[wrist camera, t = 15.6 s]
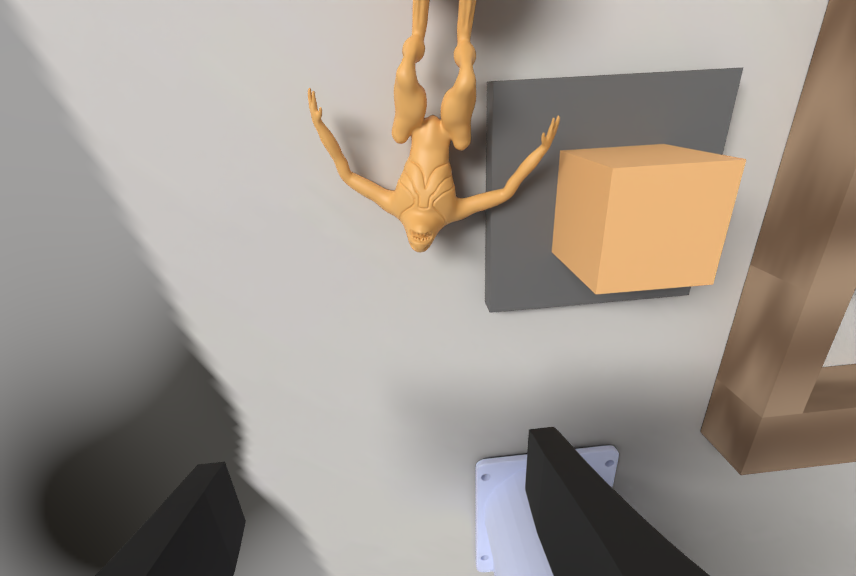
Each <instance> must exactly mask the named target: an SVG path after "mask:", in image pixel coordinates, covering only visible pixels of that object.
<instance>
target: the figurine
mask: <svg viewBox="0 0 856 576" xmlns="http://www.w3.org/2000/svg"><path fill="white" fill-rule="evenodd" d="M429 1H430V0H413V24H412V36H411V37H409V38H408V39H407V40H406V41H405V43H404V45H403V49H402V53H403V59H402V62H401V64H400V65H399V67H398V69H397V73H396V80H395V85H394V101H395V118H394V123H393V127H392V136H393V139H394V140H395V141H396V142H397V143H399V144H402V143H405V142H406V141H407V140H408V138H409V136H411V138H412V145H411V150H410V157H409V158H408V160H407V162H406V164H405V166H404V170H403V172H402V174H401V176H400V178H399V180H398V183H397V186H396V190H393V191H392V190H387V189H385V188H383V187H381V186H379V185H377V184H376V183H374V182H372V181H370V180H368V179H366V178H364V177H362V176H360V175H358V174H355V173H353V172H351V171H350V168H349V165H348V162H347V160H346V158H345V157H344V155H343V153H342V151H341V149H340V146H339V144H338V143H337V141H336V139H335V138H334V136H333V134H332V133H331V132H330V130H329V129H328V128H327V127H326V126H325V124H324V123H323V122H322V120H321V117H322V108H321V107H320V108H319V112H318V109H317V102H316V98H315V92H314V91H313V92H312V93H311V88H309V89H308V101H309V108H310V112H311V117H312V121H313V123H314V126H315V128H316V130H317V132H318V134H319V136H320V139H321V141H322V143H323V145H324V146H325V148H326V149H327V151H328V152H329V154H330V156H331V157H332V159H333V160H334V162H335V165H336V168H337V170H338V173H339V175H340V177H341V178H342V180H343V181H344V182H345V183H346V184H347V185H348V186H350V187H351V188H352V189H354V190H355V191H357V192H358V193H360V194H361V195H363V196H365V197H367V198H369V199H371V200H372V201H374V202H375V203H376V204H378V205H379V206H380V207H381V208H382V209H383V210H385V211H386V212H388V213H390V214H392V215H394V216H395V217H397V218H398V219H399V220H400V221H401V223H402V224H403V225H404V227H405V230H406V233H407V237H408V240H409V243H410V245H411V247H412V249H413V250H415V251H416V252H424V251H426V250H427V249H428V248H429V247H430V245H431V244H432V242H433V240H434V239H435V237H436V235H437V234H438V232H439V231H440V230H441V229H442V228H443V227H444V226H446V225H447V224H449V223H451V222H455V221H458V220H461V219H464V218H466V217H468V216H470V215H471V214H473V213H476V212H479V211H482V210H486V209H489V208H491V207H494V206H497V205H499V204H501V203H503V202H505V201H507V200H508V199H510V198H511V197H512V196H513V195H514V193H515V192H516V190H517V189H518V187H519V185H520V184H521V182H522V181H523V180H524V179H525V178H526V177H527V176H528V175H529V174H530V173H531V172H532V171H533V170H534V168H535V167H536V166H537V165H538V163H539V162H540V160H541V159H542V157H543V156H544V155H545V153H546V152H547V151H548V149H549V148H550V146H551V144H552V141H553V139H554V137H555V135H556V132H557V129H558V126H559V121H560V117H559V116H557V119H556V121H555V118H553V119H552V122H551V125H550V127H549V130H548V133H547V135H546V137H545V133H544V132H543V133H542V137H541V142H542V144H541V145H540V146H539V147H538V148H537V149H536V150H535V151H533V152H532V153H531V154H530V155H529V156H528V157H527V158H526V159H525V160H524V161H523V162H522V163H521V165H520V166H519V167H518V169H517V170H516V172H515V173H514V174H513V175H512V176H511V177H510V178H509V180H508V181H507V183H506V185H505V187H504V188H503V189H498V190H493V191H489V192H485V193H482V194H478V195H474V196H471V197H467V198H458V197H456V193H455V185H454V182H453V178H452V175H451V174H452V170H451V166H450V162H449V161H448V160H449V145H450V142H451V140H452V141H453V144H454V146H455V148H456V149H458V150H464V149H466V148H467V147H468V146H469V144H470V142H471V116H472V113H473V110H474V106H475V102H476V78H475V74H474V71H473V64H474V62H475V59H476V51H475V49H474V47H473V45H472V44H471V43H470V37H471V31H472V25H473V19H474V12H475V5H476V0H459V12H458V23H457V42H458V44H457V47H456V48H455V50H454V60H455V63H456V64H457V66H458V67H459V68H460V69H459V74H458V77H457V79H456V82H455V84H454V86H453V87H452V88H451V89H449V90H448V91H447V92H446V93H445V95H444V98H443V100H442V104H441V120H440V119H439V118H437V117H436V116H434V115H431V116H429V117H427V118H424V116H425V113H426V107H427V99H426V93H425V90H424V88H423V87H422V86H421V85H420V84H419V83H418V80H417V77H416V71H415V63H417V62H419V61H420V60H421V59H422V57H423V56H424V52H425V45H424V37H425V32H426V27H427V21H428V9H429ZM554 122H555V123H554Z"/></svg>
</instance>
